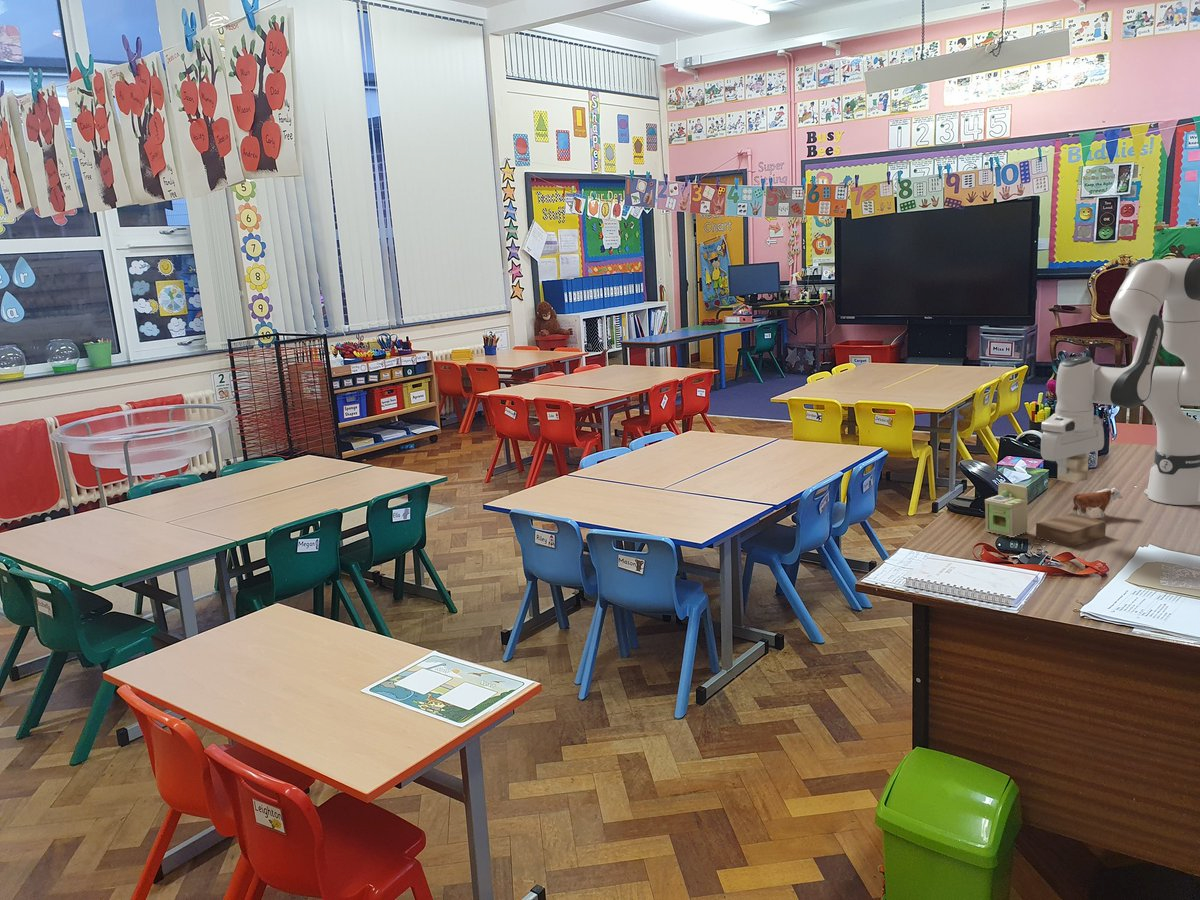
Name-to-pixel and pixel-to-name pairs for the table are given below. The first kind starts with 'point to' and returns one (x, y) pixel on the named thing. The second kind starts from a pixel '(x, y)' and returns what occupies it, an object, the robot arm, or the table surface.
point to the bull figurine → (1095, 500)
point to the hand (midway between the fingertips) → (1072, 471)
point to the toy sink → (1007, 510)
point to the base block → (1071, 529)
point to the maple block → (1075, 469)
